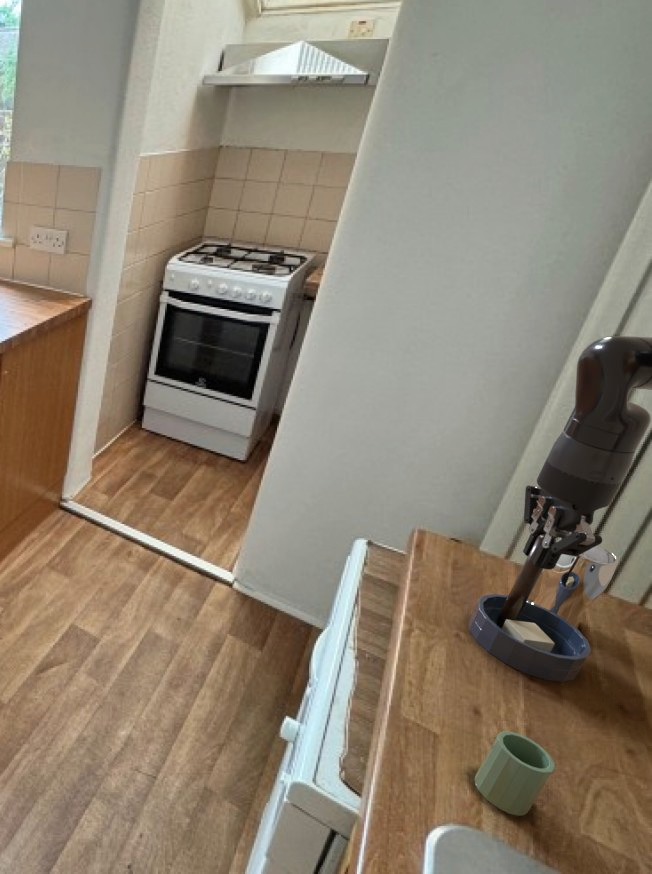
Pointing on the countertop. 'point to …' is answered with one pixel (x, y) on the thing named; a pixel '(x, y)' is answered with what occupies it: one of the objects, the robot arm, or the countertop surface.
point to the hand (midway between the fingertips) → (536, 560)
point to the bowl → (524, 657)
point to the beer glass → (576, 582)
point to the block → (528, 634)
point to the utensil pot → (514, 773)
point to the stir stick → (521, 587)
